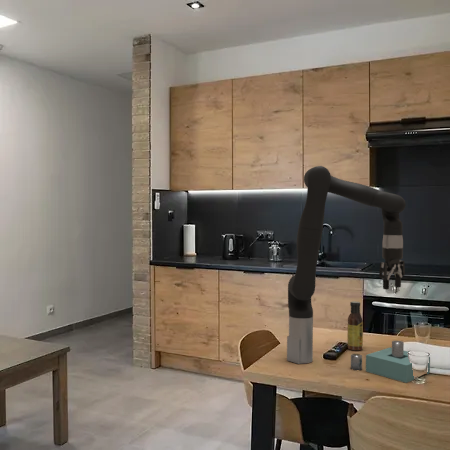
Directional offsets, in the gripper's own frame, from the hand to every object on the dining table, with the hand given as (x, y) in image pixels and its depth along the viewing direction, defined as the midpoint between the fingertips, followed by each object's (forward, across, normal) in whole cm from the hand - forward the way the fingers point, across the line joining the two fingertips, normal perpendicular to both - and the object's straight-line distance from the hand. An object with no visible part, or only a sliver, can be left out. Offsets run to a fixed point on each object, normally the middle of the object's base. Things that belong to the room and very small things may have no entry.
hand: (391, 288), depth 198 cm
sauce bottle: (+28, -2, -18) cm, 34 cm away
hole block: (+28, +12, +10) cm, 32 cm away
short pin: (+28, +20, -2) cm, 35 cm away
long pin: (+28, +12, +10) cm, 32 cm away
